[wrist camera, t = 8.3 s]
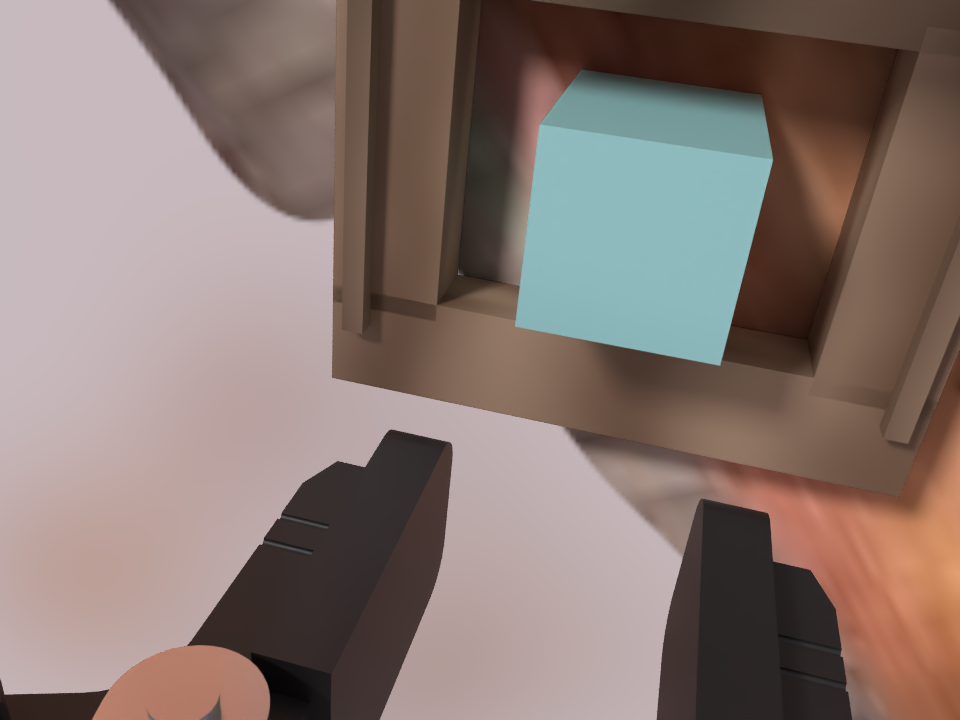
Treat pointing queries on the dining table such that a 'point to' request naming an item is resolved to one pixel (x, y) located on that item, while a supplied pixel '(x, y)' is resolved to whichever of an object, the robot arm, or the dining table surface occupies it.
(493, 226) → the dining table surface
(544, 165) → the block
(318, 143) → the dining table surface
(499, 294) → the brown flat frame
